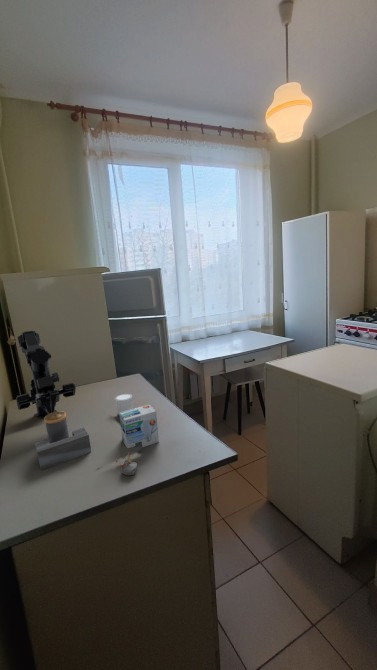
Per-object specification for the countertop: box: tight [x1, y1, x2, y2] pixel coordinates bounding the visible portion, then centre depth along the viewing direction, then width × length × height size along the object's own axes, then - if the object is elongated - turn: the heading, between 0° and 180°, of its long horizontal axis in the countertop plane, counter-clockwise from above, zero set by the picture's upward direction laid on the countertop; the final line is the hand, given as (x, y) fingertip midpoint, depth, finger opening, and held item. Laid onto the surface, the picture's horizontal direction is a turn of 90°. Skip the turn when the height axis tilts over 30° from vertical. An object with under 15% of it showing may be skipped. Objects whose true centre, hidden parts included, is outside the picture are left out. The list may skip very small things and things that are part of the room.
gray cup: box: [43, 410, 70, 444], centre depth 94 cm, size 6×6×10 cm
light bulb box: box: [118, 404, 160, 449], centre depth 95 cm, size 11×7×11 cm, turn 118°
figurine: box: [120, 450, 138, 476], centre depth 81 cm, size 5×4×6 cm
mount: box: [34, 427, 92, 471], centre depth 93 cm, size 18×16×7 cm
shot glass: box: [114, 393, 134, 417], centre depth 117 cm, size 7×7×7 cm
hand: (52, 417), depth 100 cm, fingers closed
